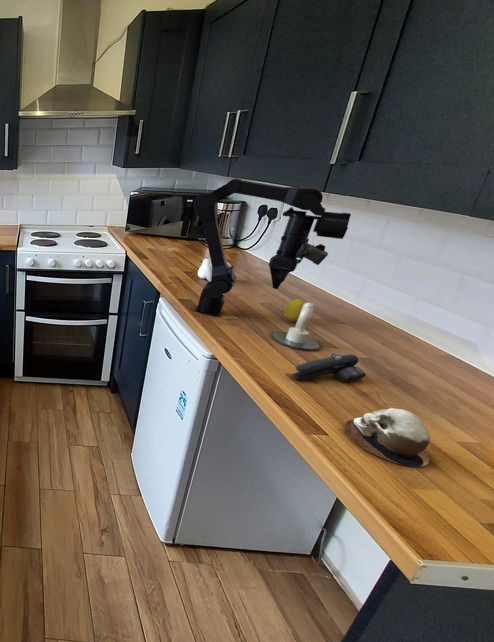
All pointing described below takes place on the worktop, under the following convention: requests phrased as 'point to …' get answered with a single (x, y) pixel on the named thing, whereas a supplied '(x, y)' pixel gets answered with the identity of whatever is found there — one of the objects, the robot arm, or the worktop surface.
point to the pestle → (301, 325)
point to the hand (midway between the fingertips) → (278, 285)
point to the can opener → (331, 368)
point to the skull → (392, 436)
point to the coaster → (307, 346)
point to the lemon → (294, 309)
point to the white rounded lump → (206, 270)
